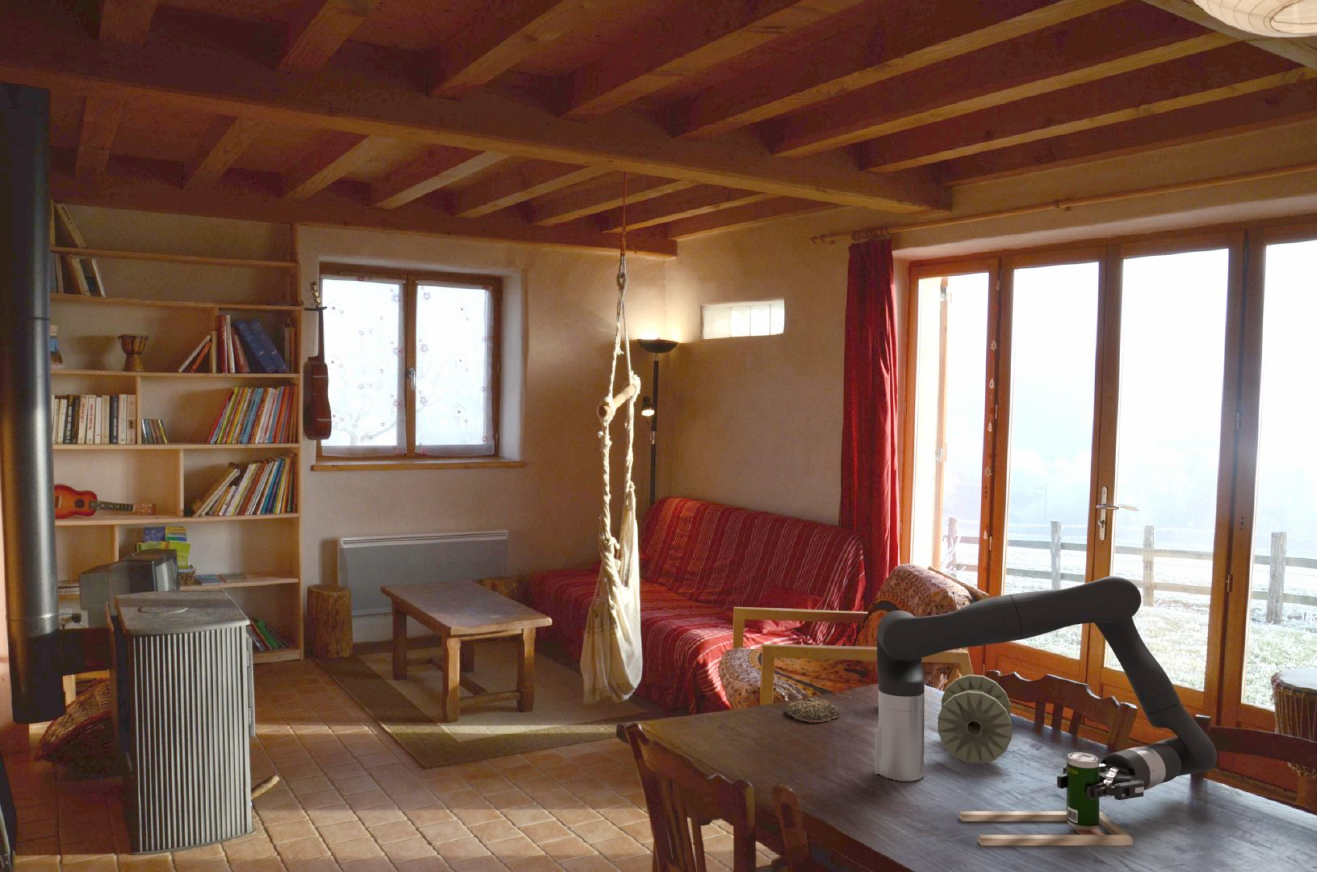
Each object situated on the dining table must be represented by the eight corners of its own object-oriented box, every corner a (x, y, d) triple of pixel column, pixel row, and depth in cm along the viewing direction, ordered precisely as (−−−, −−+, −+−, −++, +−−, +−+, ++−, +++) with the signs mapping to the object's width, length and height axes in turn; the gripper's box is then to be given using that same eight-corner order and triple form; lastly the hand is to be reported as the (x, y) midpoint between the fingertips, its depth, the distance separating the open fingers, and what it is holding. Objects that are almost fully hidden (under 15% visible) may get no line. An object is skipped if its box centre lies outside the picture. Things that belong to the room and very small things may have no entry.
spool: (1011, 767, 210) (1011, 696, 210) (937, 759, 214) (938, 689, 214) (1010, 743, 225) (1010, 677, 225) (941, 736, 230) (941, 672, 230)
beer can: (1087, 833, 172) (1087, 764, 172) (1060, 822, 177) (1060, 755, 177) (1105, 826, 175) (1105, 758, 175) (1078, 816, 180) (1078, 750, 180)
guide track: (981, 845, 170) (981, 838, 170) (959, 817, 182) (959, 811, 182) (1132, 845, 170) (1132, 838, 170) (1100, 817, 182) (1101, 811, 182)
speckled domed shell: (804, 726, 238) (804, 706, 238) (778, 712, 250) (778, 693, 250) (849, 720, 243) (849, 700, 243) (821, 707, 255) (821, 688, 255)
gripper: (1098, 739, 189) (1039, 755, 181) (1170, 761, 177) (1110, 779, 168) (1098, 778, 190) (1039, 796, 181) (1170, 803, 177) (1110, 823, 169)
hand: (1073, 787), depth 175 cm, fingers closed on beer can, 5 cm apart
